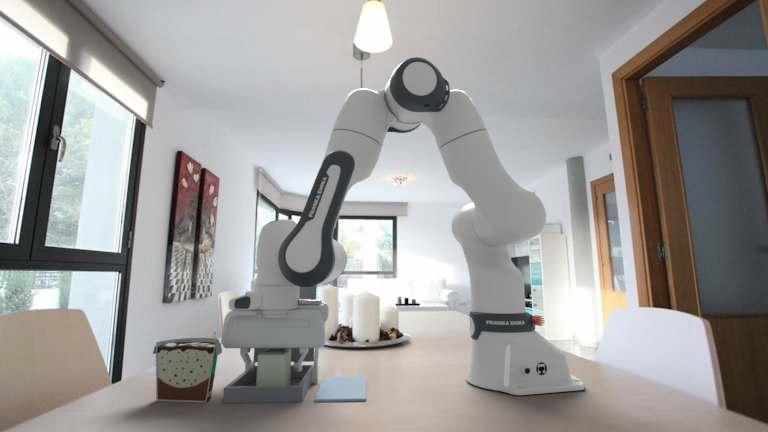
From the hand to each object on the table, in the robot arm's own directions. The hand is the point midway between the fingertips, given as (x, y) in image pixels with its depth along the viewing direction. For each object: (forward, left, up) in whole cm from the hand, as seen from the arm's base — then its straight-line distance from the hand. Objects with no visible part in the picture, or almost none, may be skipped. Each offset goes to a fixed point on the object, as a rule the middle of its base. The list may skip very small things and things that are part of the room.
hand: (273, 371), depth 75 cm
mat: (-14, +1, -3) cm, 14 cm away
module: (0, 0, -3) cm, 3 cm away
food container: (+14, +4, -4) cm, 15 cm away
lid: (0, -9, +8) cm, 12 cm away
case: (0, 0, -3) cm, 3 cm away
